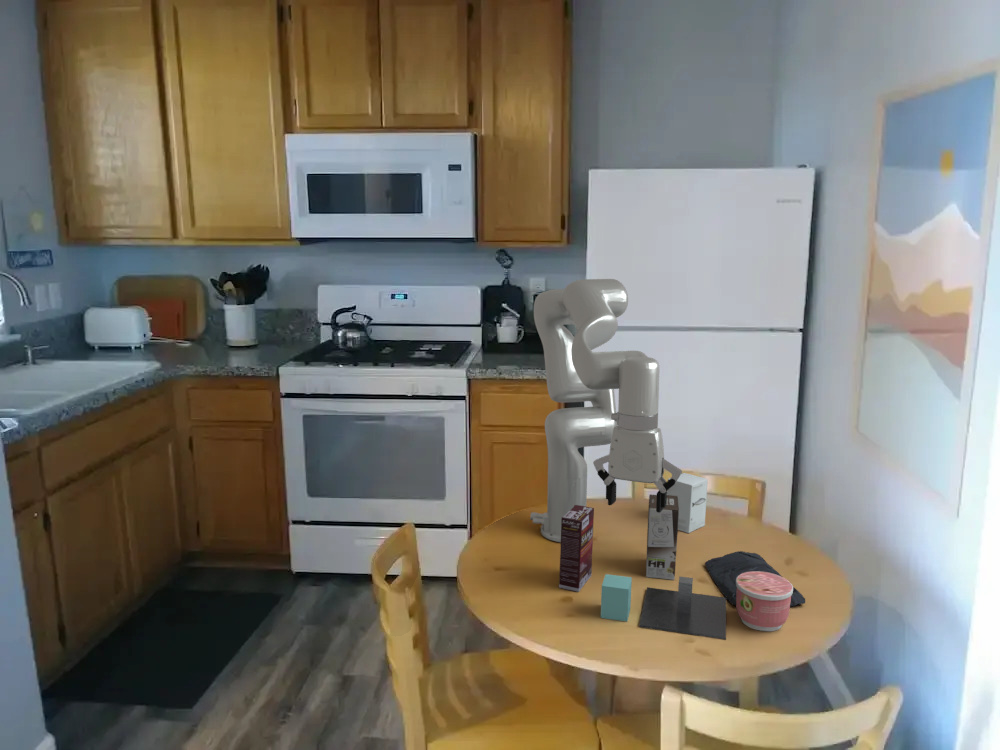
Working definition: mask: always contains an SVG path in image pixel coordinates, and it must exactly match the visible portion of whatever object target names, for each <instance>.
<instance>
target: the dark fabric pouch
mask: <svg viewBox="0 0 1000 750" xmlns="http://www.w3.org/2000/svg"><path fill="white" fill-rule="evenodd" d="M704 565H705V566H706V567H705V568H706V569H707V571H708V573H709V575H710V577H711V578H712V581H714V584H715V585H716V586H717V587H718V589H719V590H720V591H721V593H722V594H723V595H724V597H726V601H729V602H728V603H730V604H731V605H733V606H736V595H737V586H736V578H737V577H738V576H739V575H740V574H742V573H745V572H751V571H760V572H768V573H772V574H776V575H779V576H781V577H783V576H782V575H781V574H780V573H779V571H778V570H776V569H775V568H773V566H772V565H771V564H769V563H768V562H767V561H766V560H765V559H764V557H762V556H761V555H760V554H758V553H756V552H750V551H748V552H747V551H741V550H739V551H735V552H731V553H727V554H724V555H722V556H717V557H714V558H710V559H708V560H707V561H705V563H704ZM803 604H806V598H805V597H804V596H803V594H802V593H801V592H800V591H799V590H798V589H797V588H795V587H794V586H793V594H792V595H791V602H790V608H794V606H798V605H803Z"/></svg>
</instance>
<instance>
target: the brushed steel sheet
mask: <svg viewBox="0 0 1000 750" xmlns="http://www.w3.org/2000/svg"><path fill="white" fill-rule="evenodd" d="M678 577H679V578H678V587H677V588H678V590H672V589H671V590H670V589H663V588H655V587H648V586H647V587H646V591H645V596H644V600H643V604H642V606H643V607H642V610H641V615H640V619H639V624H638V628H643V629H644V628H645V629H650V630H657V631H658V630H659V631H665V632H670V633H671V632H672V633H678V634H684V635H690V636H691V635H693V636H699V637H705V638H713V639H719V640H721V639H722V640H727V598H726V597H725V596H718V595H717V596H716V595H710V594H701V593H693V581H694V577H690V576H689V577H687V576H680V575H679V576H678Z"/></svg>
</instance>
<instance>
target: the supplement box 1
mask: <svg viewBox="0 0 1000 750" xmlns="http://www.w3.org/2000/svg"><path fill="white" fill-rule="evenodd" d="M594 512H595V508H594V507H589V506H587V505H586V506H580V505H574V507H573V508H572V509H571V510H570V511H569V512H568V513H567V514H566V515H565V516H563V517H562V519H561V542H560V552H559V553H560V554H559V555H560V557H559V577H558V578H559V579H558V581H559V582H558V588H559V589H563V590H568V591H571V592H576V593H579V592H581V590H582V588H583V587H584V585H585V584H586V583H587V582H588V580H589V579H590V578H591V577H592V571H593V570H592V569H593V568H592V567H593V544H594V517H595V516H594V515H595V513H594Z"/></svg>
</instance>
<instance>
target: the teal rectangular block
mask: <svg viewBox="0 0 1000 750" xmlns="http://www.w3.org/2000/svg"><path fill="white" fill-rule="evenodd" d="M632 580H633V579H632V576H623V575H615V574H608V573H605V575H604V578H603V581H602V584H601V593H600V594H601V596H600V597H601V599H600V619H607V620H613V621H620V622H626V623H628V620H629V617H630V612H631V608H632V607H631V604H632V603H631V602H632V584H633V583H632V582H633V581H632Z"/></svg>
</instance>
